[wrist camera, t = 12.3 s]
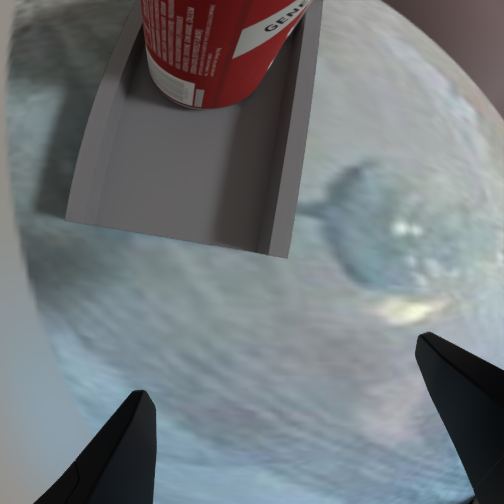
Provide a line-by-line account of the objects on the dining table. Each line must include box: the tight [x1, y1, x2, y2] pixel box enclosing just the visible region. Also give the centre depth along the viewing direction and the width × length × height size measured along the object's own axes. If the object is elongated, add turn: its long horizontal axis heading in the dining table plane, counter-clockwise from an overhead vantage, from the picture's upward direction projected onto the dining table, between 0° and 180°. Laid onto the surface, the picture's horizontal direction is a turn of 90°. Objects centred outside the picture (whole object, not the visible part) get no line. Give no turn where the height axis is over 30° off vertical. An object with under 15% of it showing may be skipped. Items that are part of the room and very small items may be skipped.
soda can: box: [140, 0, 311, 110], centre depth 11 cm, size 7×7×12 cm
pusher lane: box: [65, 0, 323, 259], centre depth 15 cm, size 19×11×6 cm, turn 170°
